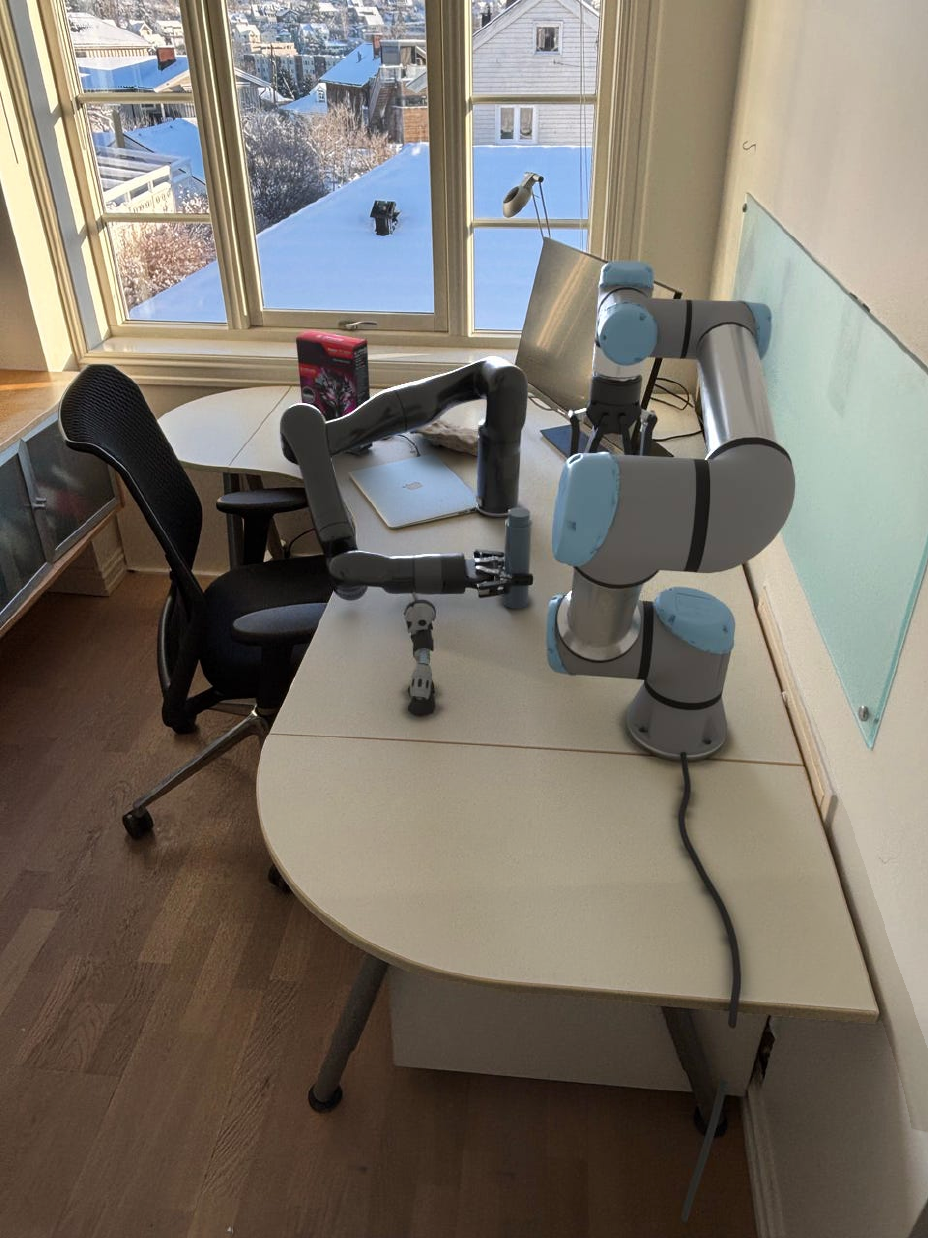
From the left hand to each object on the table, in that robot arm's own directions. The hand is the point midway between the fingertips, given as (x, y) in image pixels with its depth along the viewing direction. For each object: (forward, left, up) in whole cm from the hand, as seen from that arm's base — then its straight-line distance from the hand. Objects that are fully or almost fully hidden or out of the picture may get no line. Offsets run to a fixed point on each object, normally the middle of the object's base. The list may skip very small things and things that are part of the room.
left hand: (530, 571), depth 170 cm
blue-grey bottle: (0, -3, -6) cm, 7 cm away
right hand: (+13, +9, +19) cm, 25 cm away
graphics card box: (-75, -40, -6) cm, 85 cm away
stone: (-74, -12, -6) cm, 75 cm away
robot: (+29, -21, -6) cm, 36 cm away
